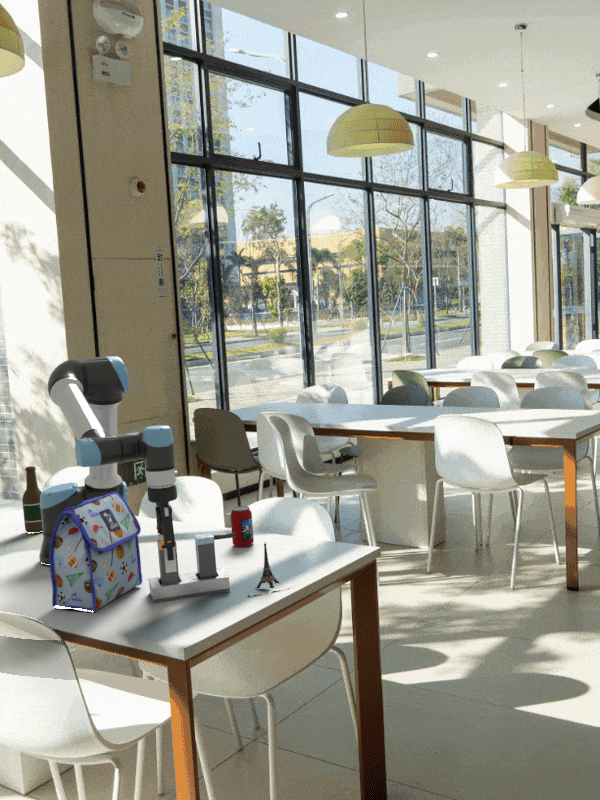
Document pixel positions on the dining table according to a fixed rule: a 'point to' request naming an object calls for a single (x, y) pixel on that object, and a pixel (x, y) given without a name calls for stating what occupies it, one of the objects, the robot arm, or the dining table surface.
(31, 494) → the beer bottle
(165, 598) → the pdu strip
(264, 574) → the eiffel tower figurine
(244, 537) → the beverage can
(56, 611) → the dining table surface
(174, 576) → the plug
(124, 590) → the lunch bag
